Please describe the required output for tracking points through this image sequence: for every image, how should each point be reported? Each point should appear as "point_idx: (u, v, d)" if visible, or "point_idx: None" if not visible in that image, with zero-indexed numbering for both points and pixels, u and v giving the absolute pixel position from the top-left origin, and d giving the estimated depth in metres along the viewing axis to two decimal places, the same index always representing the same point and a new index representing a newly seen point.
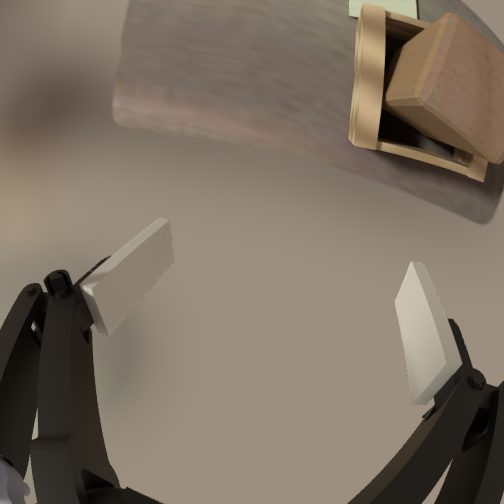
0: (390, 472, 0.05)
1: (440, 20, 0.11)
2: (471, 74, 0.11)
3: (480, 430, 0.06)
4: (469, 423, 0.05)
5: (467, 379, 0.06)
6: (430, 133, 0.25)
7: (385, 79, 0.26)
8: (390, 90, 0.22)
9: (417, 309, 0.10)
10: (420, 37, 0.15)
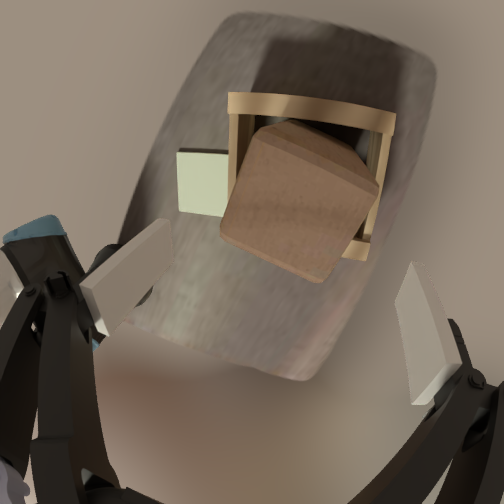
0: (390, 472, 0.05)
1: None
2: (285, 232, 0.20)
3: (480, 431, 0.06)
4: (469, 423, 0.05)
5: (467, 379, 0.06)
6: None
7: None
8: None
9: (417, 309, 0.10)
10: None
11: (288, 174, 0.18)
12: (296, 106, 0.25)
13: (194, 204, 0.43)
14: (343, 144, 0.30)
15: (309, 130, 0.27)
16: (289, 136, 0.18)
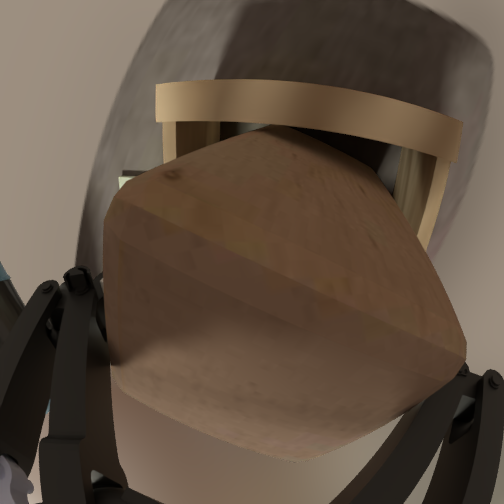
0: (375, 464, 0.05)
1: None
2: (225, 419, 0.08)
3: (466, 421, 0.06)
4: (454, 411, 0.05)
5: None
6: None
7: None
8: None
9: None
10: None
11: (210, 336, 0.06)
12: (276, 101, 0.13)
13: None
14: (363, 169, 0.17)
15: (302, 147, 0.15)
16: (210, 208, 0.05)
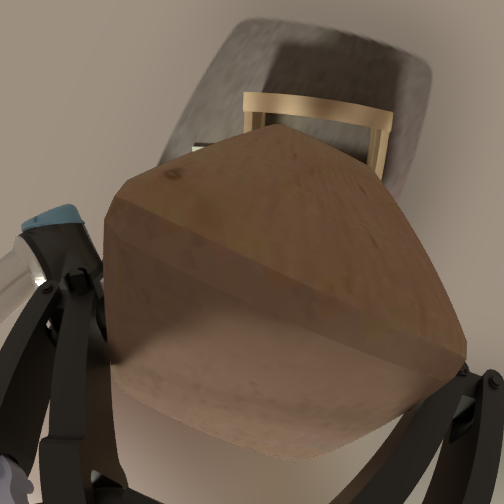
0: (375, 463, 0.05)
1: None
2: (225, 419, 0.08)
3: (466, 421, 0.06)
4: (454, 411, 0.05)
5: None
6: None
7: None
8: None
9: None
10: None
11: (211, 335, 0.06)
12: (304, 105, 0.28)
13: None
14: (363, 169, 0.17)
15: (303, 147, 0.15)
16: (211, 208, 0.05)
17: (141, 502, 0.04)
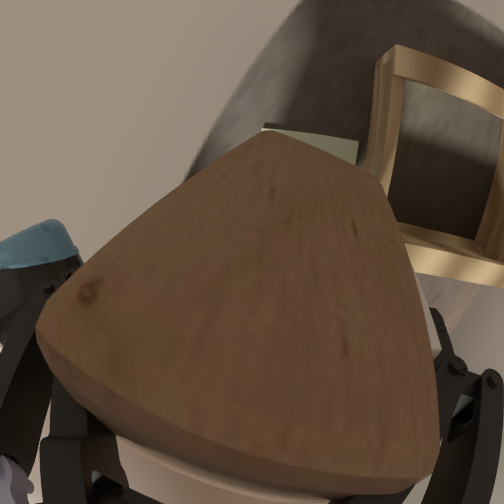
0: None
1: None
2: (197, 476, 0.07)
3: (465, 420, 0.06)
4: (453, 409, 0.05)
5: (447, 366, 0.07)
6: None
7: None
8: None
9: None
10: None
11: (155, 446, 0.05)
12: (479, 89, 0.12)
13: None
14: (363, 183, 0.15)
15: (289, 168, 0.13)
16: (122, 353, 0.04)
17: (141, 502, 0.04)
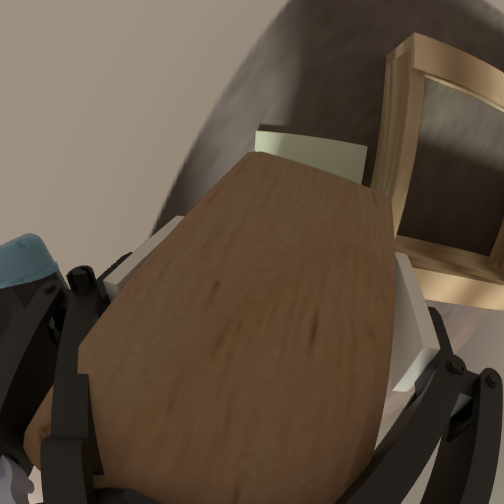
0: (373, 462, 0.05)
1: None
2: None
3: (464, 419, 0.06)
4: (451, 409, 0.05)
5: (445, 365, 0.07)
6: None
7: None
8: None
9: (399, 297, 0.11)
10: None
11: None
12: None
13: None
14: (361, 219, 0.13)
15: (254, 229, 0.11)
16: None
17: (141, 502, 0.04)
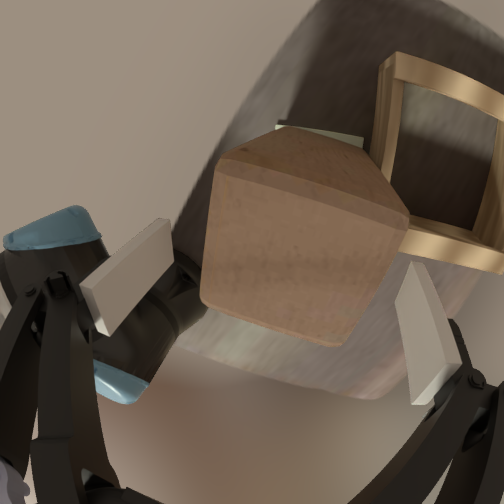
0: (390, 472, 0.05)
1: None
2: (282, 294, 0.15)
3: (480, 431, 0.06)
4: (469, 423, 0.05)
5: (467, 379, 0.06)
6: None
7: None
8: None
9: (417, 309, 0.10)
10: None
11: (272, 217, 0.13)
12: (471, 90, 0.14)
13: None
14: (352, 148, 0.23)
15: (306, 138, 0.21)
16: (265, 159, 0.12)
17: (141, 502, 0.04)
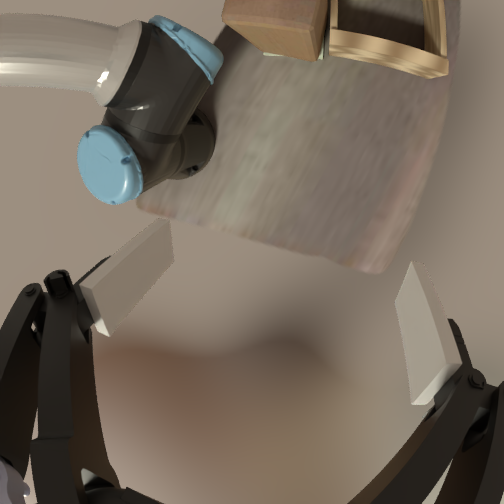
0: (390, 472, 0.05)
1: (233, 25, 0.22)
2: None
3: (480, 430, 0.06)
4: (469, 423, 0.05)
5: (467, 379, 0.06)
6: (325, 16, 0.26)
7: (293, 55, 0.34)
8: (304, 50, 0.28)
9: (417, 309, 0.10)
10: (250, 35, 0.26)
11: None
12: None
13: None
14: None
15: None
16: None
17: (141, 502, 0.04)
